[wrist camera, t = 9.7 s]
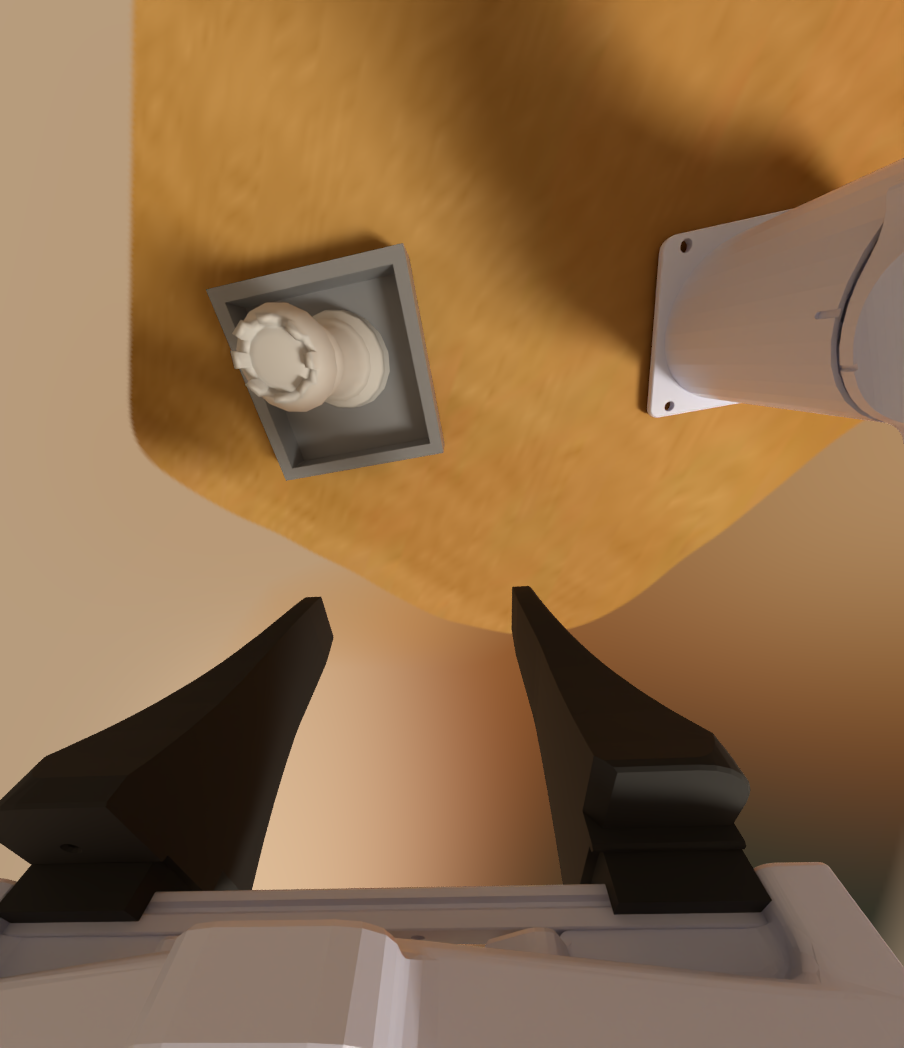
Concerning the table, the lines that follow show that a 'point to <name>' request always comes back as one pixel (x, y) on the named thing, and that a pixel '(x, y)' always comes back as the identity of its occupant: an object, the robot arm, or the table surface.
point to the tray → (408, 397)
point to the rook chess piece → (310, 357)
